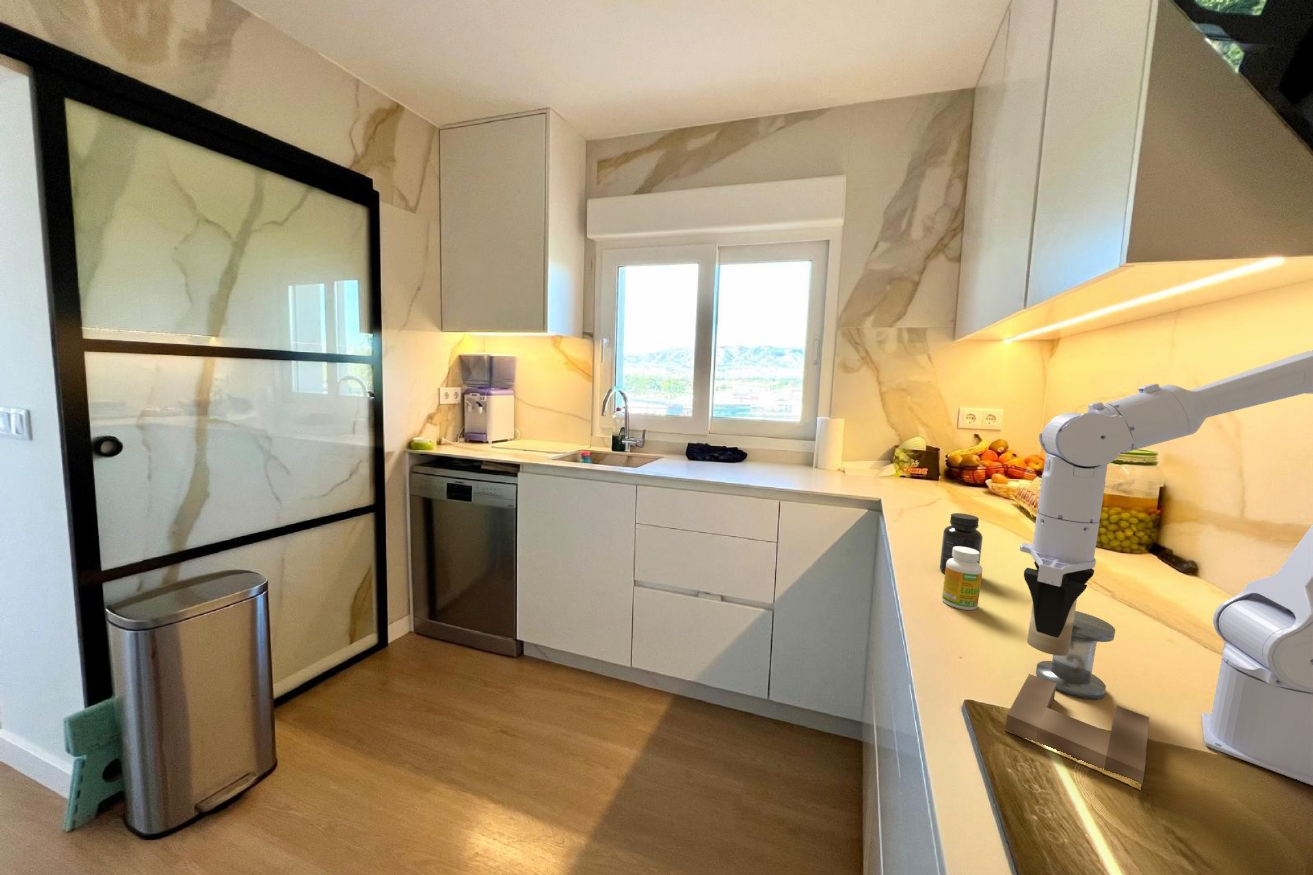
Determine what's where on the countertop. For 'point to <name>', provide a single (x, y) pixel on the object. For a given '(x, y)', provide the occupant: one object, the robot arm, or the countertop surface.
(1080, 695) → the bobbin post
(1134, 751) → the notched board
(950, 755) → the countertop surface
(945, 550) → the supplement bottle
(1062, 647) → the beige banded cylinder
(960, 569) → the supplement bottle
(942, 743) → the countertop surface
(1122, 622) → the countertop surface
